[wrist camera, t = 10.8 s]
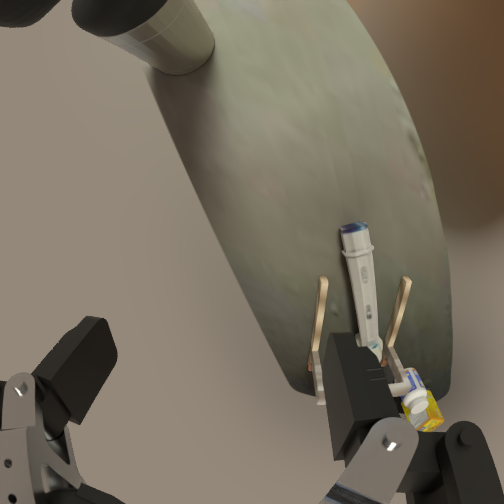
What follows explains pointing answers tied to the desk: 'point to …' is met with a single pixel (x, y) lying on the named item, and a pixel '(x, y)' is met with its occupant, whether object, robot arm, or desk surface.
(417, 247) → the desk surface
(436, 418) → the supplement box
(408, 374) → the pill bottle
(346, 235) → the white electric toothbrush
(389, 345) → the tan holder stand
